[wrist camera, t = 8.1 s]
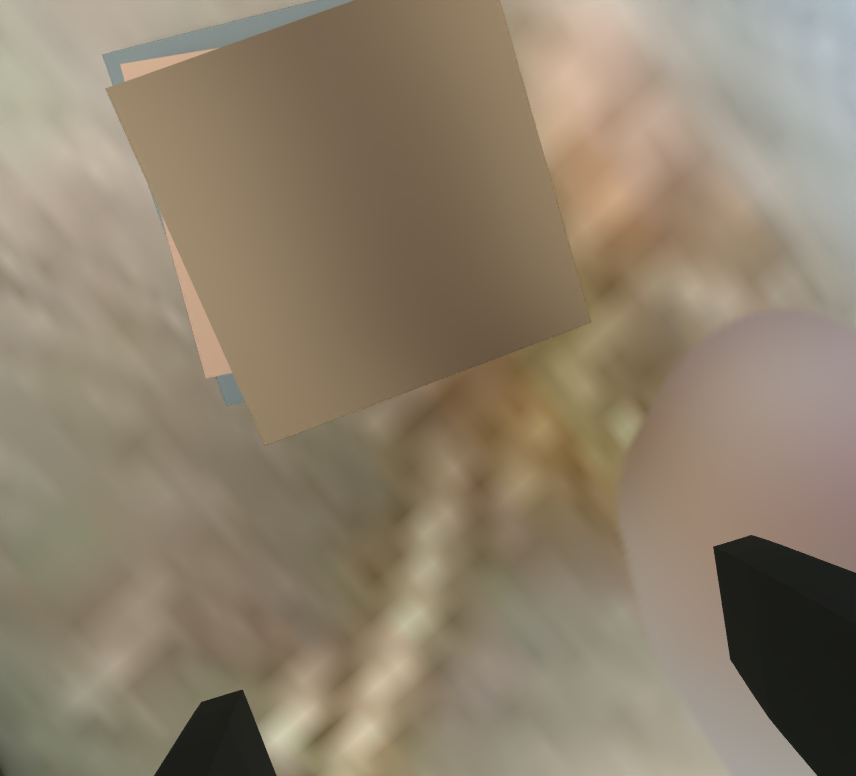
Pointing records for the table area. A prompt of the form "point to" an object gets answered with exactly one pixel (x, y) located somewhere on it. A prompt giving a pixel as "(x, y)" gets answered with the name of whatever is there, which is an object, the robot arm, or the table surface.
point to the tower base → (206, 41)
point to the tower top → (201, 327)
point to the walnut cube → (357, 203)
